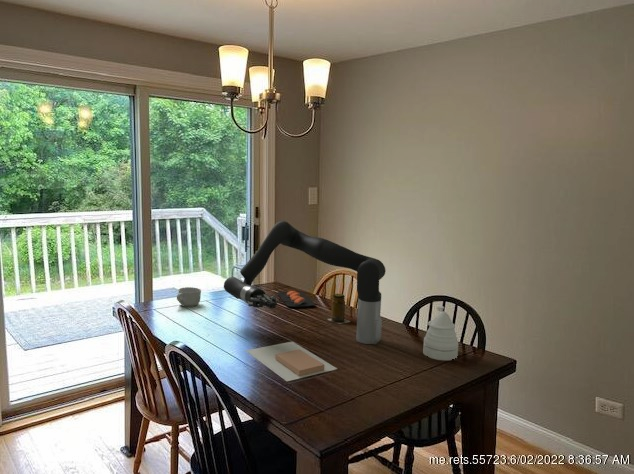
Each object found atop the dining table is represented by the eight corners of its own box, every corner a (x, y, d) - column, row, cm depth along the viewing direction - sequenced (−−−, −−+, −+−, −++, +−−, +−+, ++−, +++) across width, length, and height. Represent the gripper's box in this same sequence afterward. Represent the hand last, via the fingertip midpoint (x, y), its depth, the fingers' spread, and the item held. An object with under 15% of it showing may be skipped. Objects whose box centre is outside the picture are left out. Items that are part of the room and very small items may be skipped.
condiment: (338, 317, 225) (339, 292, 223) (351, 321, 218) (352, 296, 217) (326, 319, 220) (327, 294, 219) (339, 324, 214) (340, 298, 212)
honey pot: (416, 349, 186) (419, 304, 184) (443, 346, 191) (446, 302, 189) (436, 362, 175) (440, 314, 172) (464, 358, 180) (468, 311, 177)
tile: (275, 354, 169) (299, 370, 156) (299, 349, 174) (324, 364, 161) (275, 359, 169) (299, 376, 156) (299, 354, 175) (324, 370, 162)
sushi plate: (316, 308, 239) (316, 301, 238) (256, 311, 230) (256, 304, 230) (302, 294, 266) (302, 287, 266) (248, 296, 258) (248, 289, 257)
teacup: (191, 301, 243) (191, 285, 242) (205, 305, 237) (205, 289, 236) (168, 306, 232) (168, 290, 231) (182, 311, 225) (182, 294, 224)
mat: (245, 353, 177) (245, 350, 177) (292, 343, 188) (292, 341, 188) (286, 384, 152) (286, 381, 152) (337, 371, 163) (337, 368, 163)
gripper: (237, 288, 189) (257, 298, 175) (267, 285, 196) (289, 293, 182) (237, 307, 190) (257, 318, 176) (267, 302, 197) (289, 313, 183)
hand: (273, 305), depth 179 cm, fingers closed
